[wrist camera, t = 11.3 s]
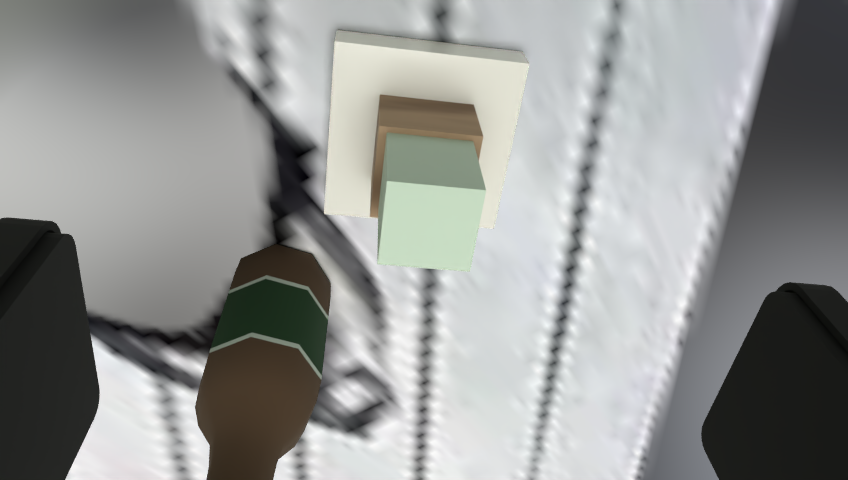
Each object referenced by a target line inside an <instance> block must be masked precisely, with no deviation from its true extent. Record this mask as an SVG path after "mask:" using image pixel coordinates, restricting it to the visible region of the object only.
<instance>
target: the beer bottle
mask: <svg viewBox="0 0 848 480" xmlns="http://www.w3.org/2000/svg"><path fill="white" fill-rule="evenodd" d="M330 293H331V283H330V282H329V280H328V279H327V277H326V275H325V274H324V272H323V271H322V269H321V268H320V266H319V265H318V263H317V262H316V260H315V258H314V257H313V255H312V254H309V253H306V252H302V251H299V250H295V249H292V248H288V247H285V246H281V245H278V244H274V245H272V246H270V247H267V248H265V249H262V250H260V251H258V252H255V253H253V254H250V255H248V256H246V257H243V258H241V260H240V263H239V265H238V267H237V269H236V272H235V275H234V278H233V281H232V284H231V287H230V290H229V293H228V296H227V300H226V303H225V306H224V309H223V312H222V315H221V318H220V321H219V324H218V328H217V331H216V334H215V337H214V340H213V343H212V346H211V349H210V352H209V356H208V359H207V363H206V366H205V369H204V373H203V376H202V380H201V383H200V387H199V391H198V396H197V401H196V406H195V409H196V415H197V421H198V426H199V428H200V430H201V431H202V433H203V435H204V436H205V438H206V440H207V441H208V443H209V445H210V454H209V469H208V474H207V480H273V477H274V473H275V469H276V464H277V461H278V459H279V458H281V457H282V456H283V455H284V454H286V453H287V452H288V451H290V450H291V449H292V448H293V447H295V445H296V443H297V442H298V440H299V439H300V437H301V435H302V434H303V432H304V430H305V428H306V425H307V423H308V420H309V418H310V416H311V413H312V411H313V409H314V406H315V404H316V401H317V397H318V393H319V388H320V384H321V378H322V369H323V360H324V351H325V342H326V333H327V324H328V315H329V306H330Z"/></svg>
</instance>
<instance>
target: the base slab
mask: <svg viewBox="0 0 848 480" xmlns="http://www.w3.org/2000/svg"><path fill="white" fill-rule="evenodd" d="M528 69H529V62H528V60H527V58H526V57H525V55H524V53H523V52H521V51H513V50H504V49H496V48H487V47H479V46H470V45H462V44H453V43H445V42H436V41H428V40H419V39H411V38H402V37H394V36H385V35H377V34H368V33H360V32H351V31H343V30H337V32H336V37H335V42H334V58H333V74H332V91H331V107H330V123H329V140H328V156H327V173H326V189H325V205H324V214H331V215H342V216H354V217H365V218H375V217H370V199H371V176H372V167H373V157H374V147H375V137H376V127H377V117H378V107H379V97H380V95H390V96H399V97H408V98H417V99H427V100H436V101H445V102H454V103H464V104H473V105H474V107H475V110H476V114H477V117H478V120H479V124H480V127H481V130H482V133H483V141H482V146H481V152H480V157H479V165H480V169H481V172H482V176H483V180H484V184H485V187H486V194H485V199H484V204H483V209H482V214H481V219H480V224H479V228H491V229H494V226H495V222H496V217H497V212H498V208H499V203H500V198H501V194H502V189H503V185H504V180H505V175H506V171H507V166H508V161H509V157H510V152H511V148H512V143H513V138H514V134H515V129H516V124H517V120H518V115H519V111H520V106H521V101H522V97H523V92H524V87H525V83H526V78H527V74H528ZM377 219H378V218H377Z"/></svg>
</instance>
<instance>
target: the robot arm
mask: <svg viewBox="0 0 848 480" xmlns="http://www.w3.org/2000/svg"><path fill="white" fill-rule="evenodd" d="M99 393H100V392H99V384H98V378H97V372H96V366H95V360H94V354H93V347H92V341H91V335H90V329H89V323H88V317H87V311H86V305H85V299H84V293H83V287H82V282H81V276H80V270H79V263H78V257H77V251H76V245H75V242H74V239H73V237H72V236H71V235H69V234H61V232H60V229H59V227H58V226H57V224H56V223H54V222H52V221H42V220H31V219H30V220H29V219H19V218H1V219H0V480H65V479H66V476H67V474H68V472H69V470H70V468H71V466H72V464H73V462H74V460H75V458H76V455H77V453H78V451H79V449H80V447H81V445H82V443H83V441H84V439H85V437H86V435H87V432H88V430H89V428H90V426H91V424H92V422H93V420H94V417H95V415H96V412H97V408H98V404H99ZM701 434H702V443H703V447H704V450H705V452H706V454H707V456H708V458H709V460H710V462H711V464H712V466H713V468H714V470H715V472H716V474H717V476H718V478H719V480H848V302H847V301H846V300H845V299H844V298H843V297H842V296H841V295H840V294H839V293H838V291H836V290H835V289H834V288H832V287H830V286H826V285H816V284H804V283H791V282H789V283H785V284H783V285H782V286H781V287H779V288H778V289H777V291H775V292H771V293H770V294H769V295H767V297H766V298H765V300H764V302H763V304H762V305H761V307H760V310H759V312H758V314H757V316H756V318H755V320H754V322H753V324H752V326H751V328H750V330H749V332H748V334H747V336H746V338H745V340H744V342H743V344H742V346H741V348H740V351H739V352H738V354H737V356H736V358H735V360H734V362H733V364H732V366H731V368H730V370H729V373H728V375H727V376H726V379H725V380H724V383H723V385H722V387H721V389H720V391H719V393H718V395H717V397H716V399H715V401H714V403H713V405H712V407H711V409H710V411H709V413H708V415H707V417H706V419H705V421H704V424H703V426H702V433H701Z"/></svg>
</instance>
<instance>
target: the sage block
mask: <svg viewBox="0 0 848 480" xmlns="http://www.w3.org/2000/svg"><path fill="white" fill-rule="evenodd" d="M485 194H486V187H485V184H484V180H483V176H482V172H481V169H480V165H479V161H478V157H477V154H476V150H475V146H474V142H473V141H467V140H457V139H447V138H437V137H428V136H418V135H408V134H398V133H388V132H387V135H386V144H385V153H384V162H383V171H382V180H381V189H380V198H379V207H378V263H377V264H380V265H392V266H405V267H417V268H430V269H442V270H454V271H467V272H470V268H471V263H472V258H473V253H474V248H475V244H476V239H477V234H478V229H479V224H480V219H481V214H482V209H483V204H484V199H485Z"/></svg>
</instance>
